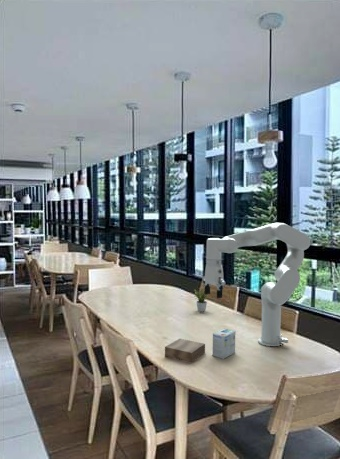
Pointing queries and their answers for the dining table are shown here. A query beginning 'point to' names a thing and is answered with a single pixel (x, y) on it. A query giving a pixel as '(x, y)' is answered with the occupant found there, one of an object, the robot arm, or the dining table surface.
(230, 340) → the light bulb box
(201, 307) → the house plant
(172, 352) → the walnut block
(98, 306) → the dining table surface
